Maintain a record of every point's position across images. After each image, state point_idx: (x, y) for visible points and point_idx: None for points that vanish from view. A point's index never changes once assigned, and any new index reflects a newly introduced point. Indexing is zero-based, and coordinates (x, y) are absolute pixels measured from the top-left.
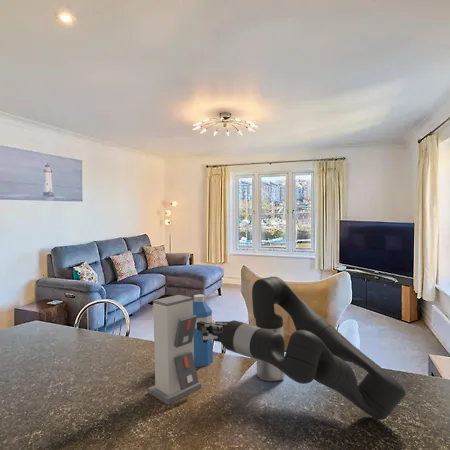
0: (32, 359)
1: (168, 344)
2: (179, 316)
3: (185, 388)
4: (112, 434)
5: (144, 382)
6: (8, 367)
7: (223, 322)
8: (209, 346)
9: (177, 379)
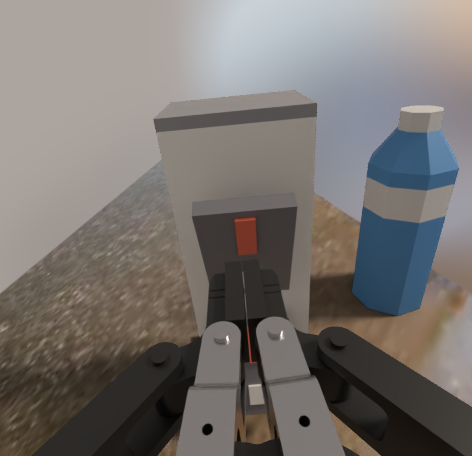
0: (159, 185)
1: (190, 275)
2: (235, 184)
3: None
4: (28, 433)
5: None
6: (129, 189)
7: (395, 390)
8: (416, 274)
9: None
